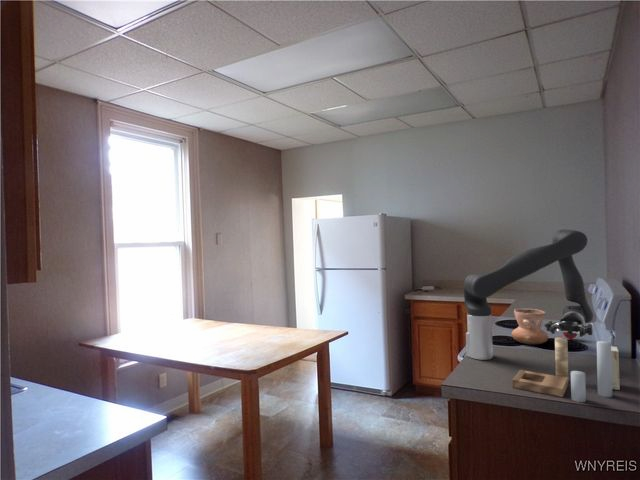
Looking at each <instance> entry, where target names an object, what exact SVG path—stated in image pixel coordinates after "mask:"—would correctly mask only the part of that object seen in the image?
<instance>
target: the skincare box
mask: <svg viewBox="0 0 640 480" xmlns="http://www.w3.org/2000/svg"><path fill="white" fill-rule="evenodd" d="M611 361H612V390H616V391H620V389H621V387H620V384H621V383H620V359H619V349H618V346H613V345H611Z"/></svg>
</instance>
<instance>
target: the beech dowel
mask: <svg viewBox="0 0 640 480" xmlns="http://www.w3.org/2000/svg"><path fill="white" fill-rule="evenodd" d="M568 346H569V345H568V338H566V337H565V338H564V337H555V338H554V355H555V356H554V358H555V360H554V361H555V376H560V377H566V378H568V379H569V350H568V348H569V347H568Z"/></svg>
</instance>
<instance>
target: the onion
mask: <svg viewBox="0 0 640 480" xmlns="http://www.w3.org/2000/svg"><path fill="white" fill-rule="evenodd" d="M562 334H563V336H564V337H565V339H567V340H570V341H572V340H573V339H575V338H576V337H577V336H578V334H576V335H569V334H567V333H565V332H562Z"/></svg>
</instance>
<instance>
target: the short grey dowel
mask: <svg viewBox="0 0 640 480" xmlns="http://www.w3.org/2000/svg"><path fill="white" fill-rule="evenodd" d="M586 389H587V388H586V373H585V372H584V371H579V370H572V371H571V370H570V392H571V393H570V395H571V396H570V397H571V400H572V401H574V402H576V403H585V402H586V401H587V398H586V397H587V396H586V394H587V393H586Z"/></svg>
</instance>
